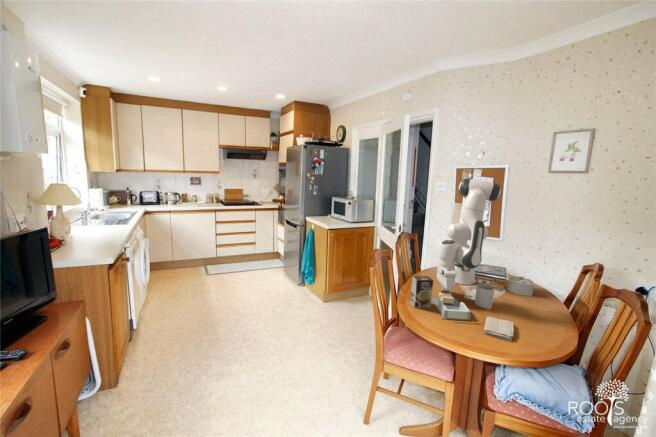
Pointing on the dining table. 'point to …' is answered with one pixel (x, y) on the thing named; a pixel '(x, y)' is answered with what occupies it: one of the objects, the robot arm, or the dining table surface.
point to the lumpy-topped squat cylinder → (521, 286)
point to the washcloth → (499, 328)
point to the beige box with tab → (446, 297)
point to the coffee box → (421, 291)
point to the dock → (452, 310)
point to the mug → (484, 296)
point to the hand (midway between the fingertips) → (443, 292)
